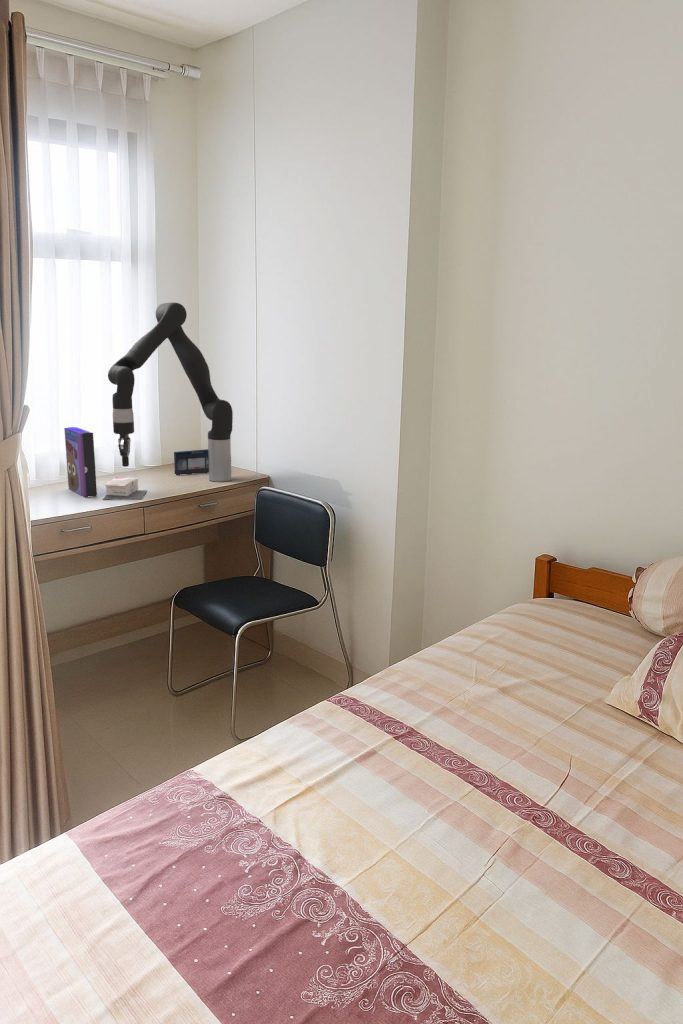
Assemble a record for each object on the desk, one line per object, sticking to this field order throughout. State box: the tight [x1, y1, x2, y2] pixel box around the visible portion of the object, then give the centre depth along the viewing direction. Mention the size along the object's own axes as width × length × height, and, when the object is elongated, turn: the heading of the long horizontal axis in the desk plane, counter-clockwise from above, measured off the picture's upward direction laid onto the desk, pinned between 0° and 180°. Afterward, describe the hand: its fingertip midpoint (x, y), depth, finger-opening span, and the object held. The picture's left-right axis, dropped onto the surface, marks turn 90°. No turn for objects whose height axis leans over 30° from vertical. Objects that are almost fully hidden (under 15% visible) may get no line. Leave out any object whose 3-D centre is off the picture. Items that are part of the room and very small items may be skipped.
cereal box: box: [63, 426, 98, 498], centre depth 294 cm, size 17×5×24 cm, turn 37°
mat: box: [102, 489, 148, 500], centre depth 293 cm, size 14×14×1 cm
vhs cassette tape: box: [173, 448, 209, 476], centre depth 335 cm, size 18×3×10 cm, turn 119°
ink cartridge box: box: [103, 476, 139, 496], centre depth 294 cm, size 9×5×15 cm
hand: (125, 466), depth 294 cm, fingers closed
